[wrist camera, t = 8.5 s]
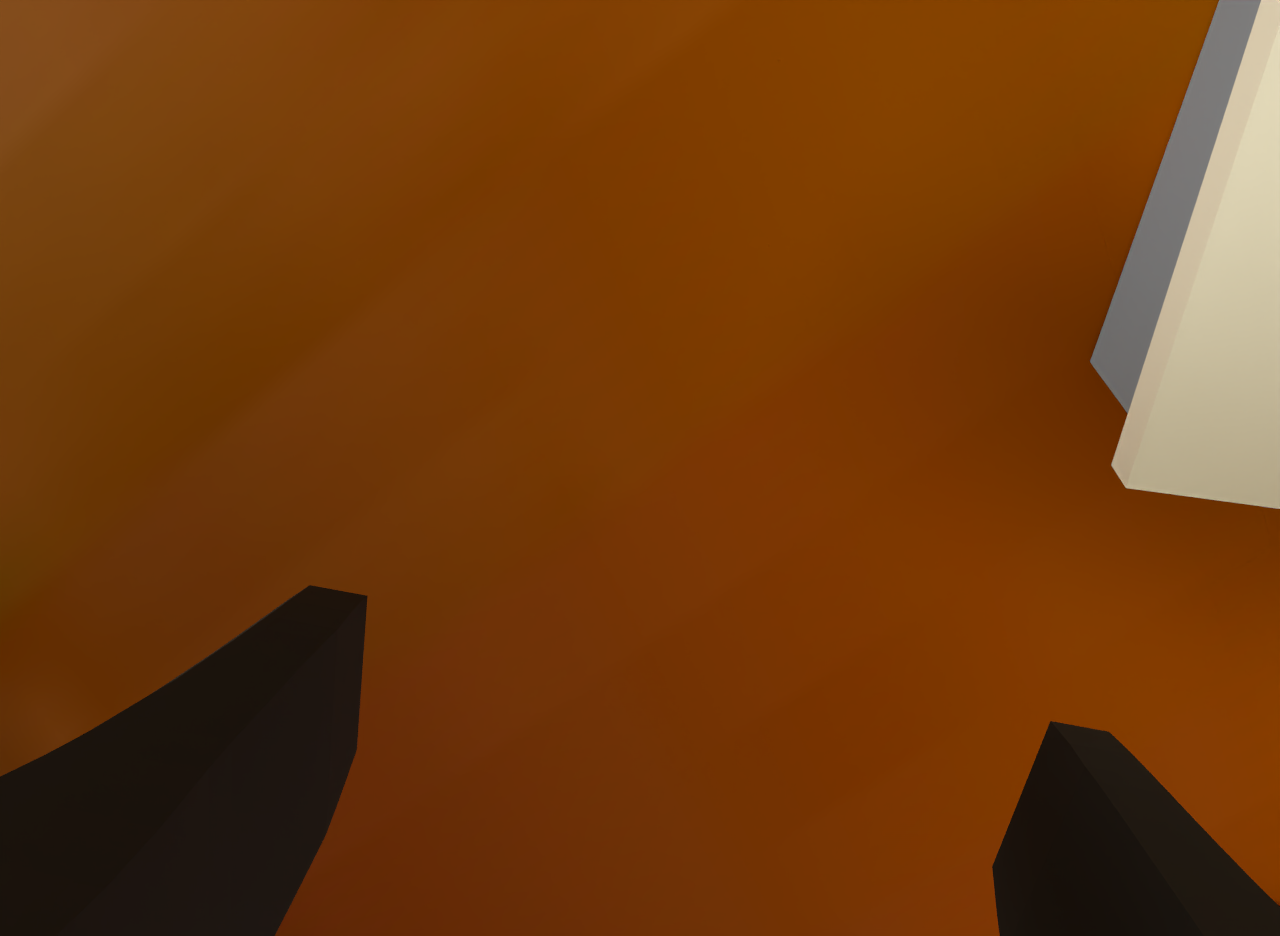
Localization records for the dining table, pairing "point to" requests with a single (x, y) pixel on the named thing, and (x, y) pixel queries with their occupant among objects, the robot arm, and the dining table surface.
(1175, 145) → the light blue square dish
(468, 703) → the dining table surface
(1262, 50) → the lid
